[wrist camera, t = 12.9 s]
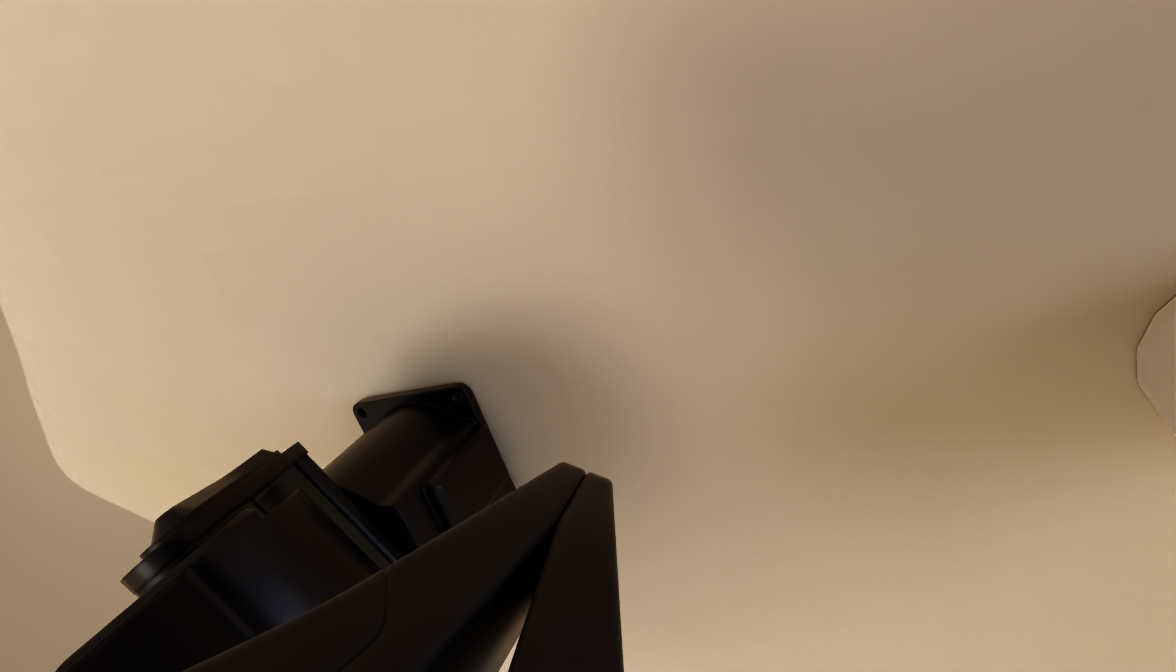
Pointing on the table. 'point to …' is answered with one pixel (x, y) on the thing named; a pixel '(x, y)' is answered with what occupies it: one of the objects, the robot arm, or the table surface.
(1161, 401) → the white cylinder
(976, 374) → the table surface
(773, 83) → the table surface
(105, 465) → the table surface
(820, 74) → the table surface
